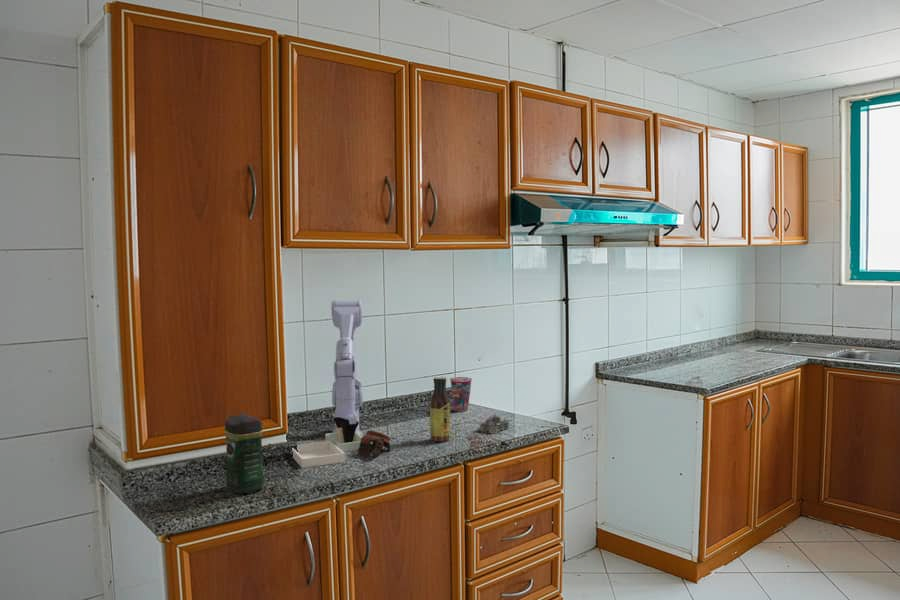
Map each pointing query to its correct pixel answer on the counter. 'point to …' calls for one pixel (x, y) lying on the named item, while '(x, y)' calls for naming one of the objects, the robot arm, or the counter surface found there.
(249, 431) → the coffee jar
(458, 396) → the cup
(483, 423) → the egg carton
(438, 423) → the sauce bottle
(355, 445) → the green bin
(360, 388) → the robot arm
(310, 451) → the cream bin
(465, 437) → the counter surface
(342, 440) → the sandstone block
